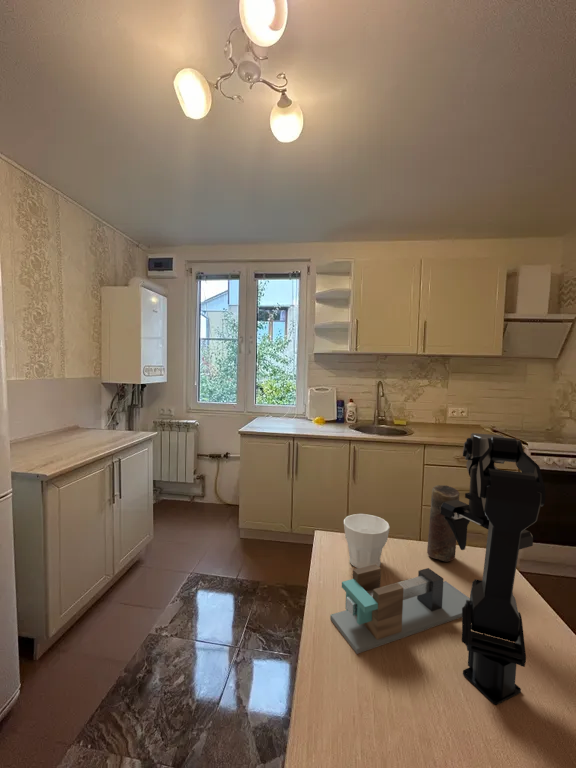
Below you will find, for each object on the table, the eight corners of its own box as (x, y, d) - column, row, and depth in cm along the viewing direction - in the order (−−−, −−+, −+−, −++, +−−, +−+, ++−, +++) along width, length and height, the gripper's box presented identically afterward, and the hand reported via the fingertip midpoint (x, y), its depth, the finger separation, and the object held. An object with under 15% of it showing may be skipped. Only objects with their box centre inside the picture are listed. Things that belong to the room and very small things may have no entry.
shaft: (442, 608, 80) (443, 578, 79) (354, 637, 70) (356, 604, 70) (427, 596, 84) (428, 567, 83) (342, 622, 74) (343, 591, 74)
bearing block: (401, 636, 72) (403, 587, 72) (376, 644, 70) (378, 594, 69) (374, 607, 81) (375, 564, 80) (351, 614, 78) (353, 569, 78)
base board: (480, 610, 80) (481, 606, 80) (356, 654, 68) (356, 649, 68) (445, 584, 90) (445, 580, 90) (330, 619, 77) (330, 614, 77)
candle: (457, 555, 104) (460, 487, 102) (454, 567, 97) (458, 495, 96) (429, 548, 107) (432, 482, 106) (424, 559, 101) (428, 490, 100)
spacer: (377, 626, 70) (377, 603, 70) (364, 630, 69) (365, 606, 68) (353, 600, 78) (353, 578, 77) (341, 603, 77) (341, 581, 76)
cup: (338, 569, 95) (339, 529, 95) (346, 546, 107) (347, 510, 106) (386, 579, 91) (388, 537, 91) (389, 554, 103) (390, 517, 103)
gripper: (552, 501, 73) (547, 575, 74) (473, 474, 90) (470, 534, 91) (516, 509, 69) (511, 587, 70) (440, 479, 86) (437, 542, 87)
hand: (480, 559), depth 79 cm, fingers open, 9 cm apart
